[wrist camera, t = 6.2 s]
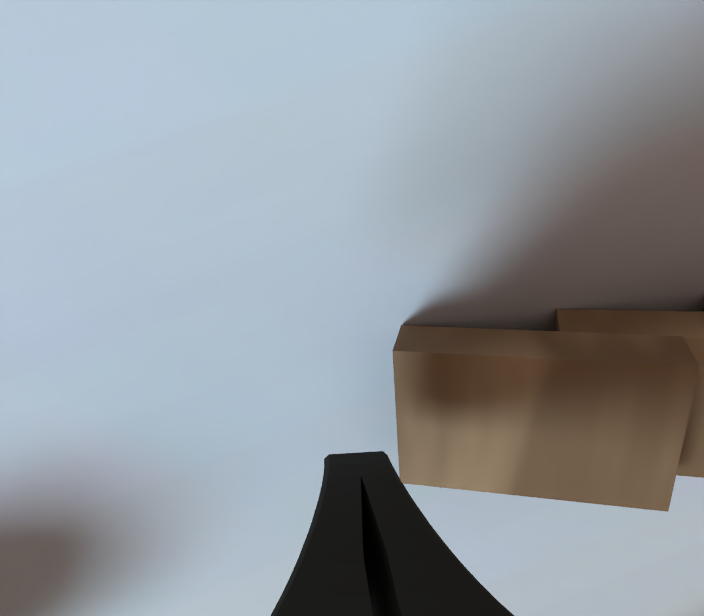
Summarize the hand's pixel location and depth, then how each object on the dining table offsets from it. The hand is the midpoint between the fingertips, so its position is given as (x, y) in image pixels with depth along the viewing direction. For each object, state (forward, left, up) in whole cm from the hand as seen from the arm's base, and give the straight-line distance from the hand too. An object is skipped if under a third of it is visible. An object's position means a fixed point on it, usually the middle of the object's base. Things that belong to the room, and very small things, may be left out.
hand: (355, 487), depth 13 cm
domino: (-1, -1, -3) cm, 4 cm away
